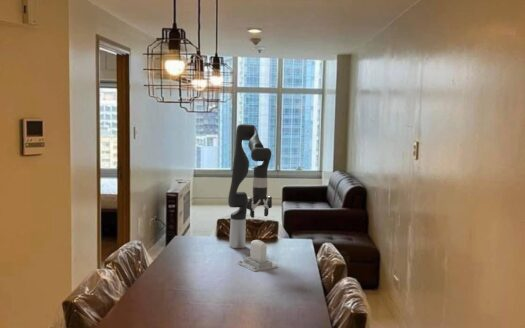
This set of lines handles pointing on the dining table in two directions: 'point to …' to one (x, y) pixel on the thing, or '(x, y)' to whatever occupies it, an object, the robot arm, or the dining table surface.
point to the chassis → (257, 264)
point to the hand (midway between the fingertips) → (259, 216)
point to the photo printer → (258, 251)
